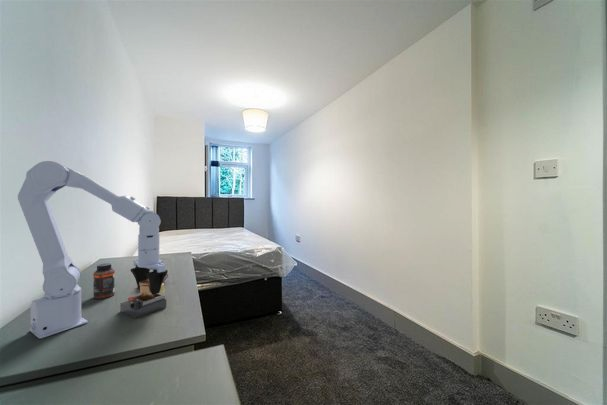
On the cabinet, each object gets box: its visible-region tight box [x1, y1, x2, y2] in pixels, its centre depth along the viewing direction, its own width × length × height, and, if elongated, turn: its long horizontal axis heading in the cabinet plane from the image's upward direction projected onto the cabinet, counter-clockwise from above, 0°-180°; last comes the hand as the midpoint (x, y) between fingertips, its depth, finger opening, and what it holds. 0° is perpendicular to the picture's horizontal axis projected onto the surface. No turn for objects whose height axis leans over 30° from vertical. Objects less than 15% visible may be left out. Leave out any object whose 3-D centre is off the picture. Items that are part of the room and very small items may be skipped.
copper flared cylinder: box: [139, 279, 157, 301], centre depth 78 cm, size 5×5×6 cm
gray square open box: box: [119, 293, 167, 320], centre depth 77 cm, size 9×9×5 cm
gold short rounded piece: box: [159, 282, 165, 295], centre depth 87 cm, size 6×6×4 cm
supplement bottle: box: [92, 262, 116, 300], centre depth 87 cm, size 6×6×11 cm
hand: (148, 291), depth 78 cm, fingers open, 7 cm apart
